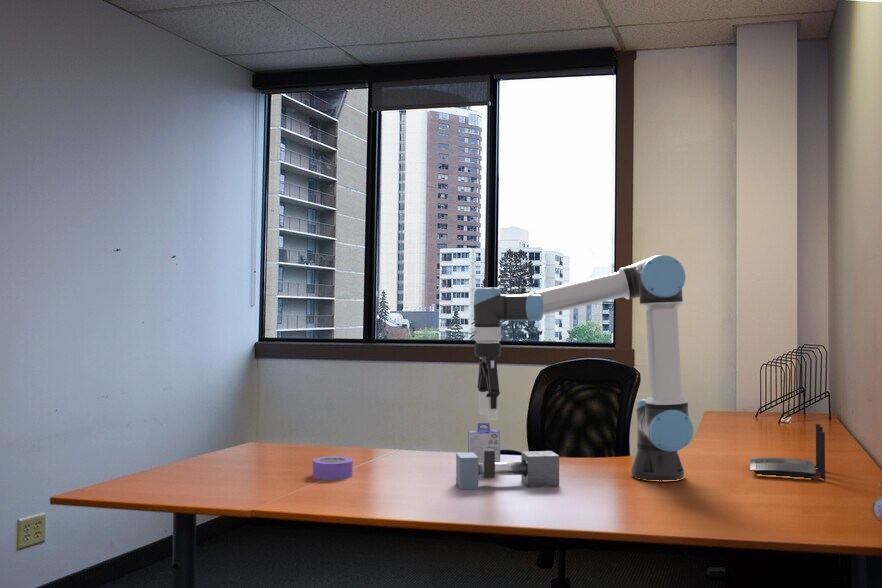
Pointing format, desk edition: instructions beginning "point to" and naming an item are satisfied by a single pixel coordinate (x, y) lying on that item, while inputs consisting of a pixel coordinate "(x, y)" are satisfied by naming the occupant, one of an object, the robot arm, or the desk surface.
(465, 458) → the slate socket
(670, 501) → the desk surface
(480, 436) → the ink cartridge box
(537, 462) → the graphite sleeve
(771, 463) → the router
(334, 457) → the tape roll
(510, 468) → the metal rod with block
